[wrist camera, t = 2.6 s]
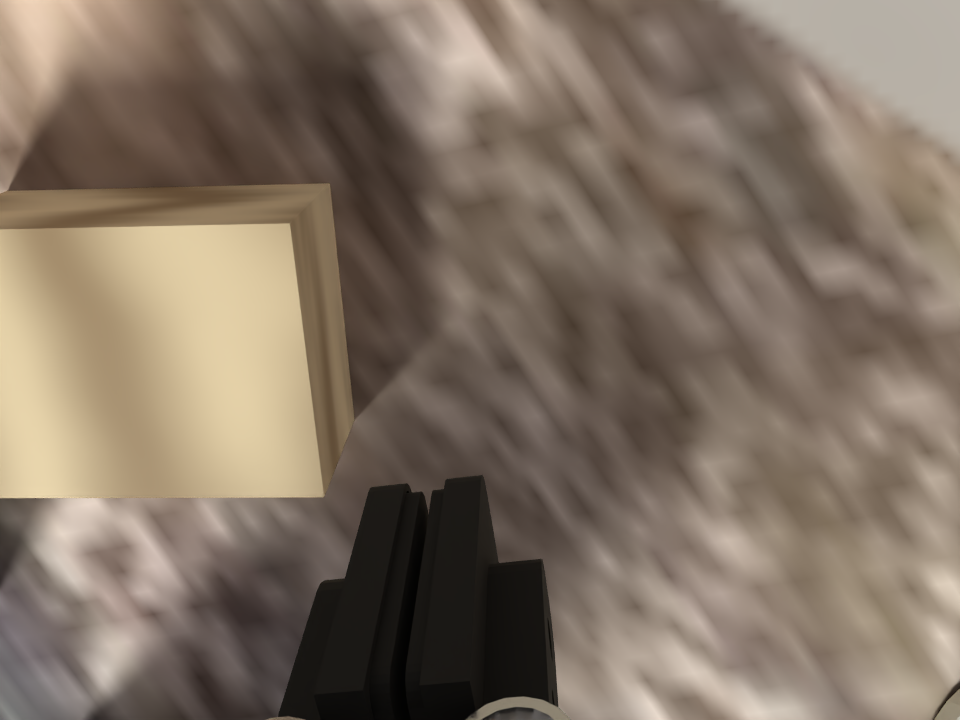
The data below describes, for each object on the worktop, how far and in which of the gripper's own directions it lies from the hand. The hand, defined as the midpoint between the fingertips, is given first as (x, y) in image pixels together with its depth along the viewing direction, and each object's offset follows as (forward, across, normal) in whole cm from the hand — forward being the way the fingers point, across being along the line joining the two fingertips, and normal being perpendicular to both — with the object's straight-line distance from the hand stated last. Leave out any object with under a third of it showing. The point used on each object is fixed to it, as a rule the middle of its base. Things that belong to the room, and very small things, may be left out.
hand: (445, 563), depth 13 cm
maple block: (+15, +10, 0) cm, 18 cm away
